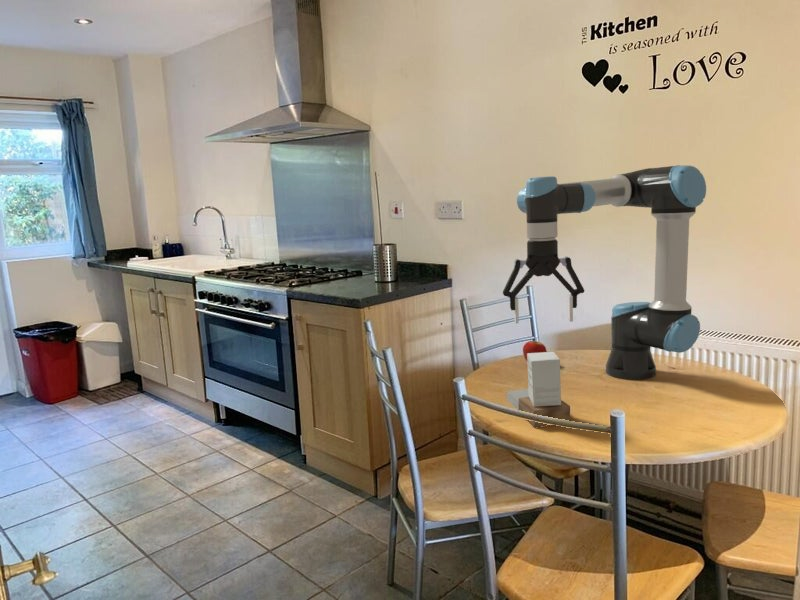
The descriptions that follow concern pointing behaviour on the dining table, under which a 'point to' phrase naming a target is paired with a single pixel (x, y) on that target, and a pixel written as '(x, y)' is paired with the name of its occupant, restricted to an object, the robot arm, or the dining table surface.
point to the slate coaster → (516, 396)
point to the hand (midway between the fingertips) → (543, 321)
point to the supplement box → (544, 379)
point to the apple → (533, 348)
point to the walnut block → (544, 410)
